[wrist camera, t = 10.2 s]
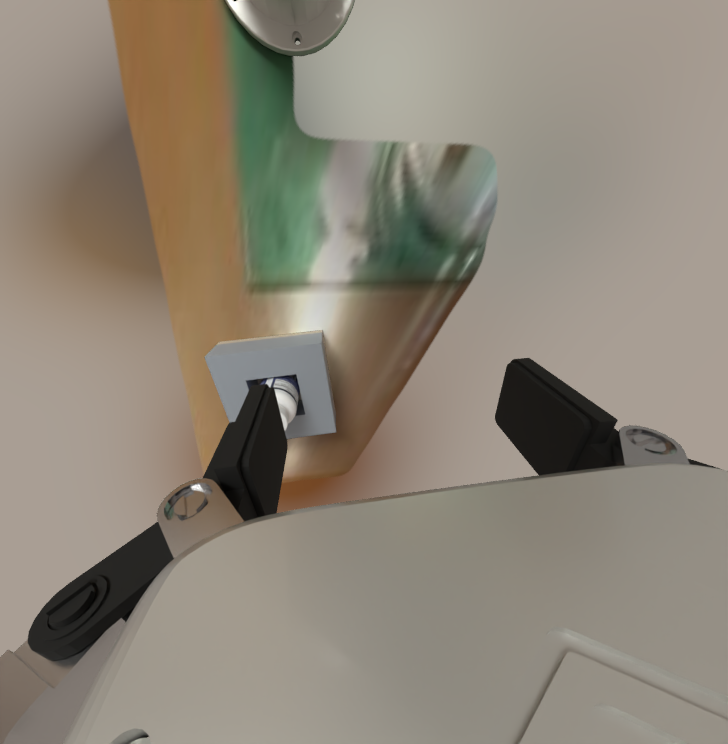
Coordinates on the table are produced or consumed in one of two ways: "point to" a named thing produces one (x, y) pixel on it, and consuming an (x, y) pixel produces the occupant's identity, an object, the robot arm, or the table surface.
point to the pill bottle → (285, 395)
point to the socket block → (272, 359)
